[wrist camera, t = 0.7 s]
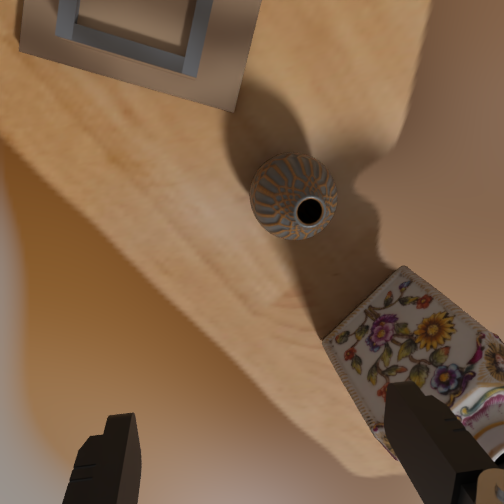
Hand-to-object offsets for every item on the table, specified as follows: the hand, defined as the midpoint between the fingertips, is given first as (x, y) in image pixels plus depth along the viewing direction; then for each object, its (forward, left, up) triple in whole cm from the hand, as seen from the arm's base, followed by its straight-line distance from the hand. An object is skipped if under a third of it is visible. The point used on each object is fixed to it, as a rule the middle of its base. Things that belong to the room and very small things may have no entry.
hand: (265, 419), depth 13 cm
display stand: (-15, -9, -26) cm, 31 cm away
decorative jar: (+8, +21, -27) cm, 35 cm away
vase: (-4, +5, -27) cm, 27 cm away
